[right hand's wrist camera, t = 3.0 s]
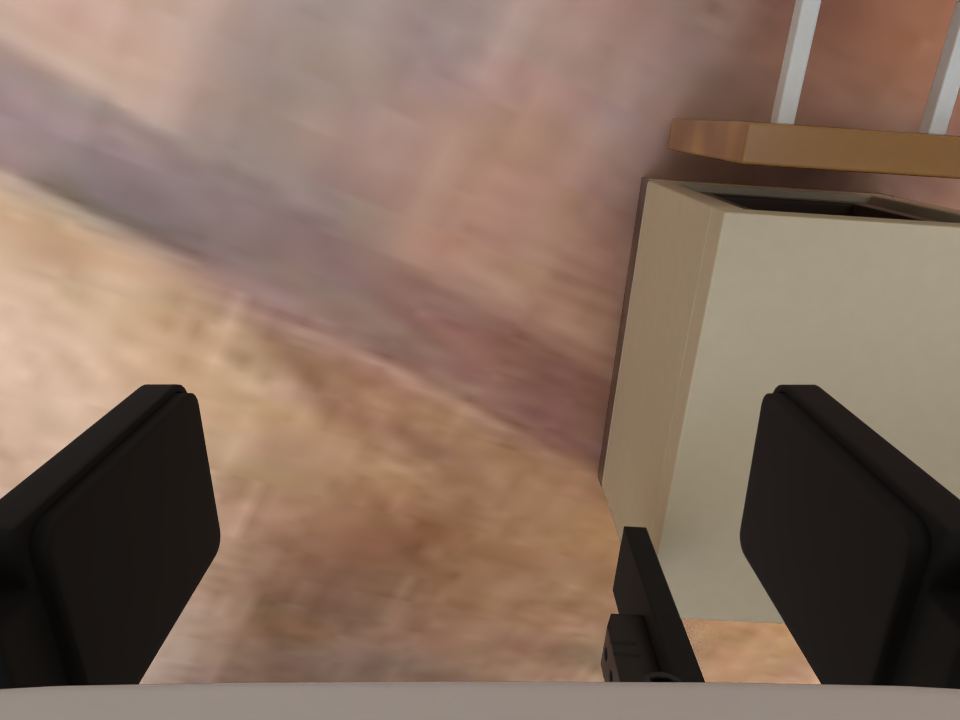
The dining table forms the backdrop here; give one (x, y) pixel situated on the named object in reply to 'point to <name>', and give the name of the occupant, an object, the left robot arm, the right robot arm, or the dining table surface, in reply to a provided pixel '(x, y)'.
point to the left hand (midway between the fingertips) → (823, 569)
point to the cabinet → (768, 361)
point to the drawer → (831, 133)
